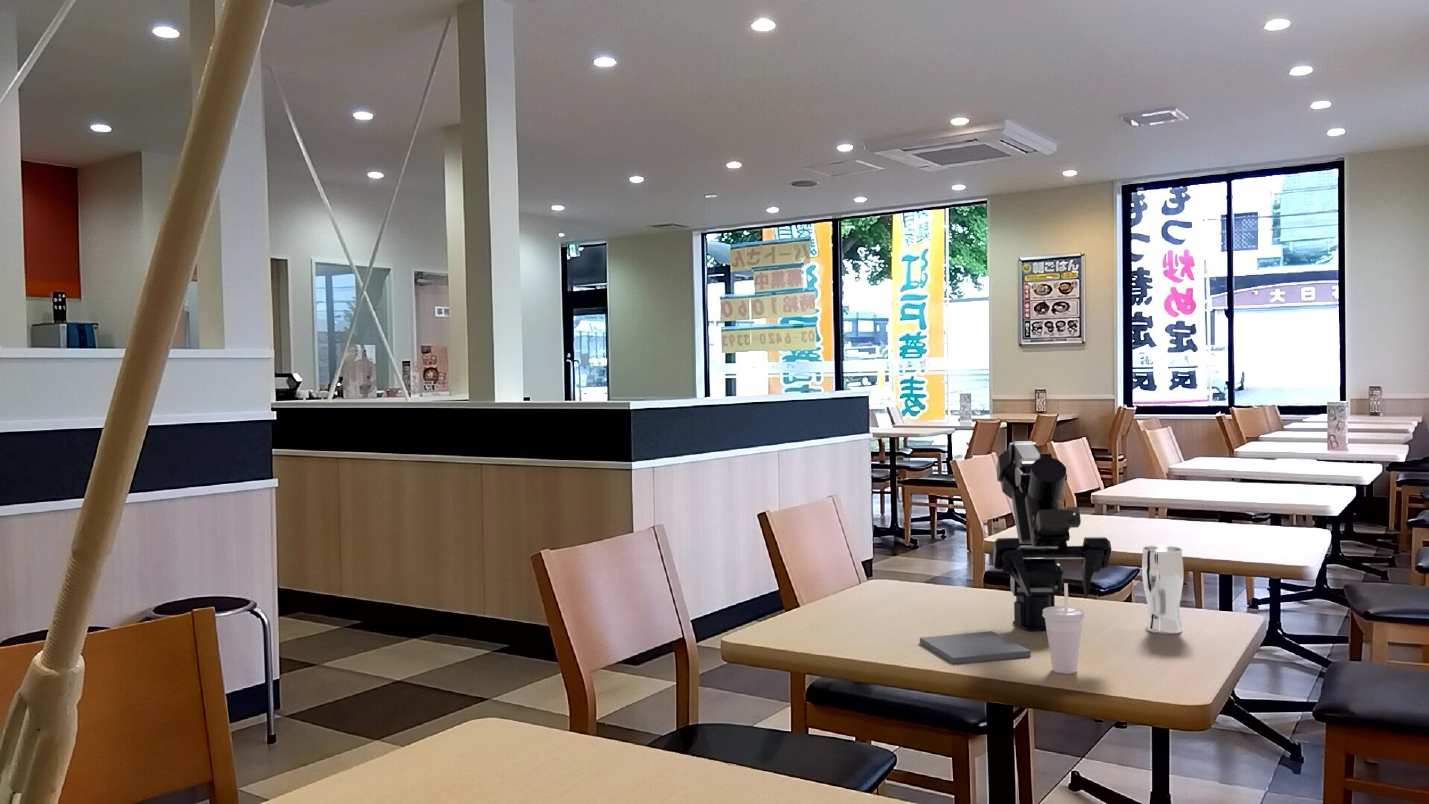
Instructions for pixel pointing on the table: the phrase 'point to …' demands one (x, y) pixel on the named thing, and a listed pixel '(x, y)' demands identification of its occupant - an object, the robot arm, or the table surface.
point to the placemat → (974, 647)
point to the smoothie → (1063, 635)
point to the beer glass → (1163, 588)
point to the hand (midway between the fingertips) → (1058, 595)
